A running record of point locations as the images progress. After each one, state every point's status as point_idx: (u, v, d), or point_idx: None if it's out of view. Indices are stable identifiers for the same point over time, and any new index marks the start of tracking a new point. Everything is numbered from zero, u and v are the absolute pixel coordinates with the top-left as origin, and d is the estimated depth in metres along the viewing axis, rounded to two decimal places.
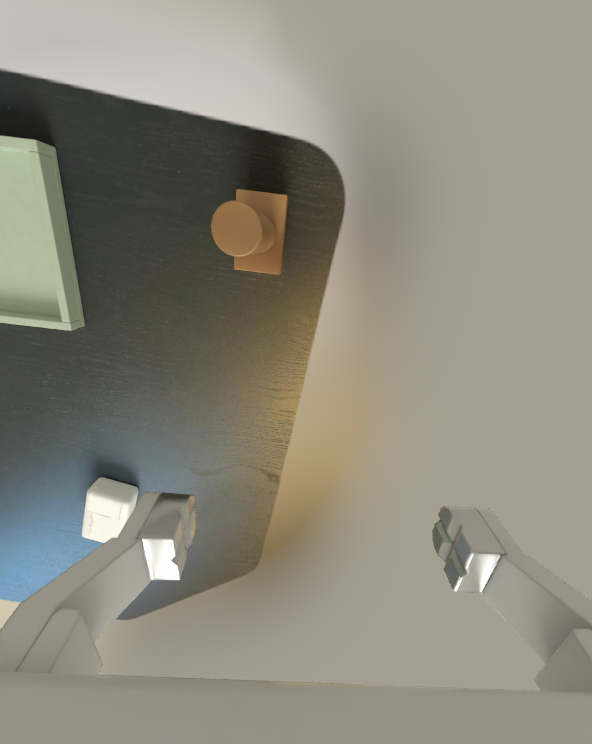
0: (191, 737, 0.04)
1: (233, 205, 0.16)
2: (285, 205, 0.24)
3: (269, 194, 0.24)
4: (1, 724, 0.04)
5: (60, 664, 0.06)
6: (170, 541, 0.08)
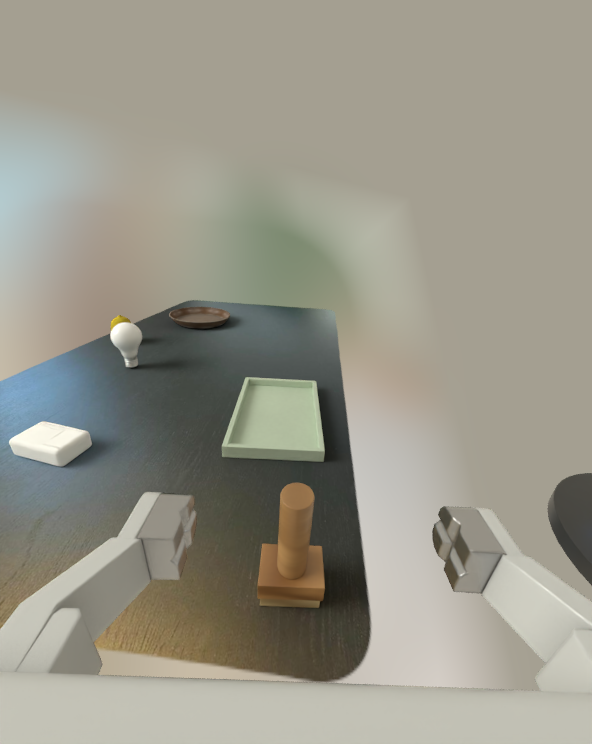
0: (191, 737, 0.04)
1: (311, 494, 0.25)
2: (316, 587, 0.27)
3: (322, 572, 0.28)
4: (1, 724, 0.04)
5: (60, 664, 0.06)
6: (170, 541, 0.08)
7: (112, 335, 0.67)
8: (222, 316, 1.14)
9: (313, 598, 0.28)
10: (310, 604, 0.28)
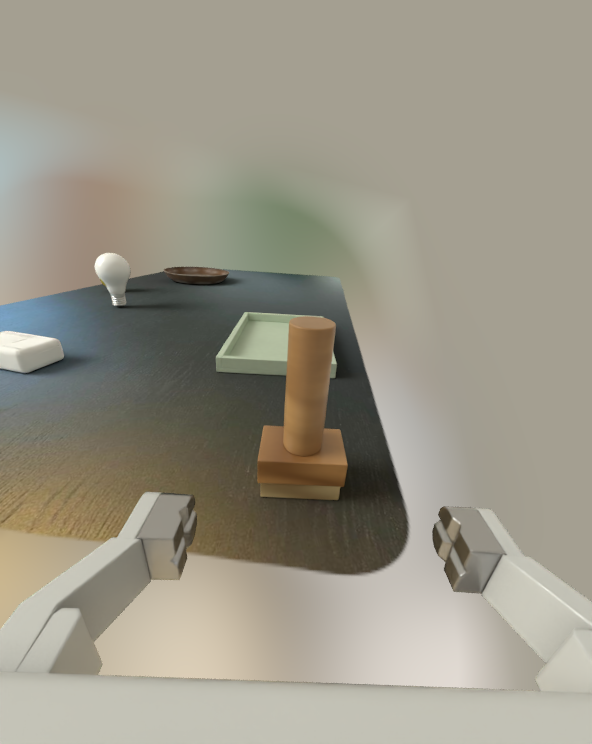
0: (191, 737, 0.04)
1: (331, 322, 0.18)
2: (336, 464, 0.20)
3: (343, 450, 0.21)
4: (1, 724, 0.04)
5: (60, 664, 0.06)
6: (170, 541, 0.08)
7: (96, 265, 0.60)
8: None
9: (331, 482, 0.21)
10: (327, 494, 0.21)
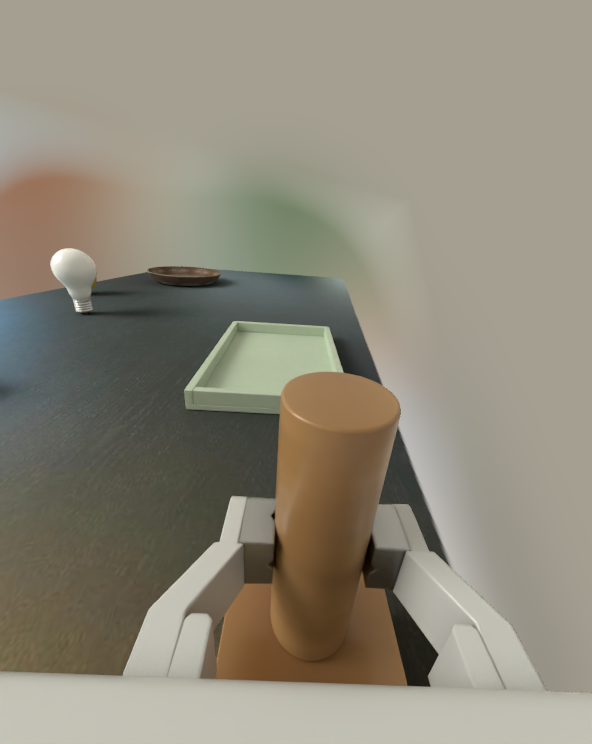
0: (191, 738, 0.04)
1: (385, 394, 0.07)
2: None
3: (393, 635, 0.10)
4: (1, 724, 0.04)
5: (202, 669, 0.06)
6: (271, 545, 0.08)
7: (52, 263, 0.49)
8: None
9: None
10: None
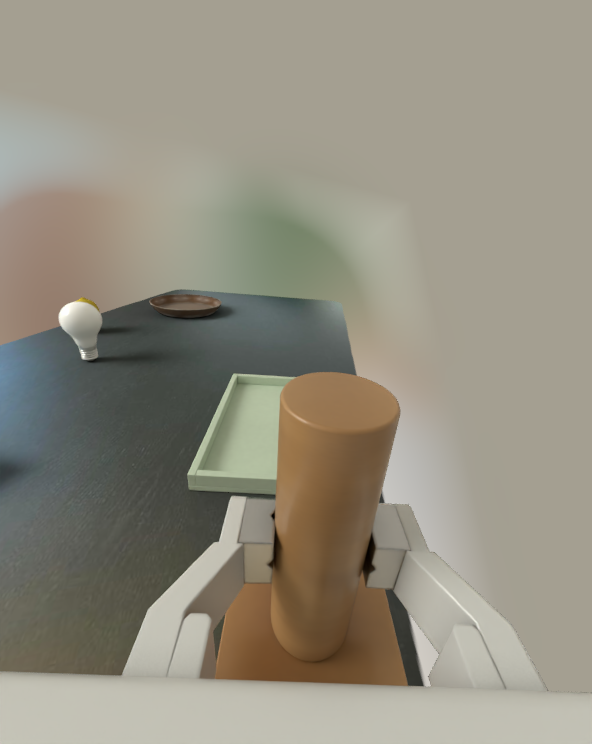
0: (191, 738, 0.04)
1: (384, 394, 0.07)
2: None
3: (393, 636, 0.10)
4: (1, 724, 0.04)
5: (202, 669, 0.06)
6: (271, 546, 0.08)
7: (60, 317, 0.51)
8: (213, 305, 0.99)
9: None
10: None
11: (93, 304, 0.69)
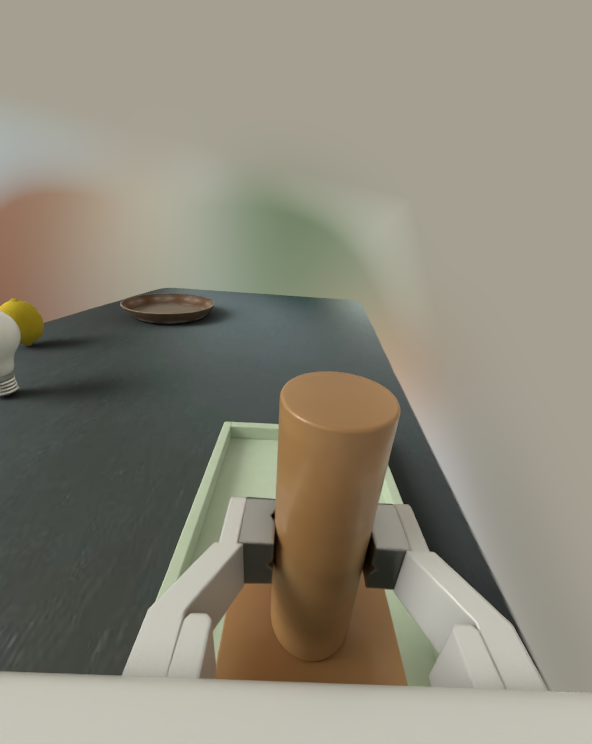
0: (191, 737, 0.04)
1: (384, 394, 0.07)
2: None
3: (393, 635, 0.10)
4: (1, 724, 0.04)
5: (202, 669, 0.06)
6: (271, 546, 0.08)
7: None
8: (204, 307, 0.79)
9: None
10: None
11: (30, 308, 0.49)
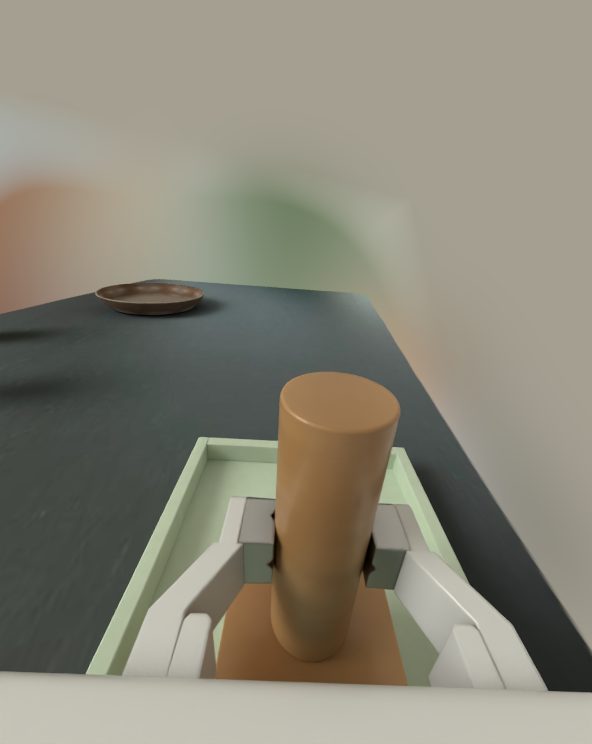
0: (191, 737, 0.04)
1: (384, 394, 0.07)
2: None
3: (393, 636, 0.10)
4: (1, 724, 0.04)
5: (202, 669, 0.06)
6: (271, 546, 0.08)
7: None
8: (193, 298, 0.70)
9: None
10: None
11: None
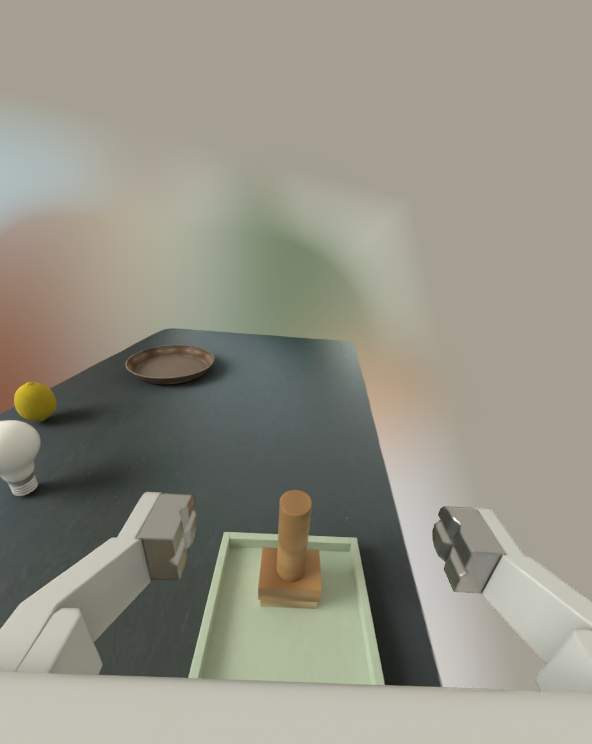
0: (191, 738, 0.04)
1: (308, 500, 0.26)
2: (314, 589, 0.28)
3: (319, 574, 0.30)
4: (1, 724, 0.04)
5: (60, 664, 0.06)
6: (170, 541, 0.08)
7: None
8: (204, 359, 0.83)
9: (311, 599, 0.29)
10: (308, 605, 0.30)
11: (44, 390, 0.53)
